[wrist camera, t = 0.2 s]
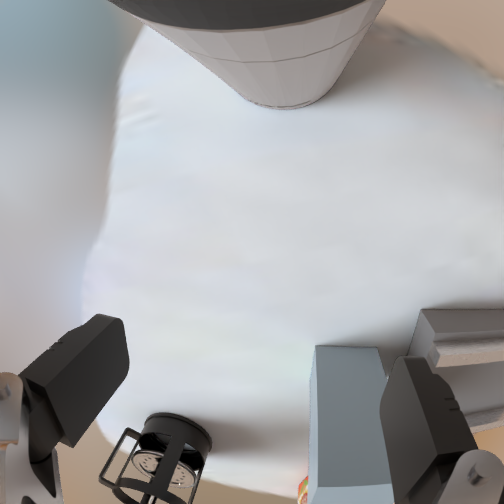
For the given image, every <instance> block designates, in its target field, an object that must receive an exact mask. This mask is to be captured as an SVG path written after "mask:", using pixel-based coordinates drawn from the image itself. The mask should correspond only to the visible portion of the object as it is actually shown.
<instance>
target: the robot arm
mask: <svg viewBox="0 0 504 504" xmlns="http://www.w3.org/2000/svg"><path fill="white" fill-rule="evenodd" d="M108 1H110V2H112V3H113V4H115V5H117V6H118V7H120V8H121V9H123V10H125V11H126V12H128V13H129V14H131V15H132V16H134V17H135V18H137V19H138V20H140V21H142V22H143V23H144V24H146V25H148V26H149V27H150V28H152V29H153V30H155V31H156V32H158V33H159V34H161V35H162V36H164V37H165V38H167V39H168V40H170V41H171V42H173V43H174V44H175V45H177V46H178V47H180V48H181V49H182V50H184V51H185V52H186V53H188V54H189V55H190V56H192V57H193V58H194V59H196V60H197V61H198V62H200V63H201V64H202V65H204V66H205V67H206V68H207V69H209V70H210V71H211V72H213V73H214V74H215V75H216V76H218V77H219V78H220V79H221V80H223V81H224V82H225V83H226V84H228V85H229V86H230V87H231V88H233V89H234V90H235V91H236V92H238V93H239V94H240V95H241V96H242V97H244V98H245V99H247V100H248V101H250V102H252V103H254V104H256V105H259V106H262V107H265V108H269V109H278V110H287V109H296V108H300V107H304V106H307V105H309V104H311V103H313V102H315V101H317V100H319V99H320V98H321V97H322V96H324V95H325V94H326V93H327V92H328V91H329V90H330V89H331V88H332V86H333V85H334V84H335V82H336V81H337V79H338V77H339V76H340V74H341V73H342V71H343V70H344V68H345V67H346V65H347V63H348V62H349V60H350V58H351V57H352V55H353V53H354V52H355V50H356V49H357V47H358V45H359V44H360V42H361V41H362V39H363V37H364V36H365V34H366V32H367V31H368V29H369V28H370V26H371V24H372V23H373V21H374V20H375V18H376V16H377V15H378V13H379V12H380V10H381V8H382V7H383V5H384V4H385V1H386V0H108ZM128 370H129V355H128V349H127V343H126V336H125V330H124V324H123V322H122V320H121V319H120V318H115V317H111V316H107V315H103V314H96V315H95V316H94V317H92V318H91V319H90V320H89V321H88V322H87V323H85V324H84V325H82V326H80V327H77V328H75V329H73V330H71V331H68V332H67V333H66V334H65V335H64V336H62V337H61V338H60V339H59V340H58V342H55V343H54V344H53V345H52V346H51V347H50V349H49V350H46V351H45V352H44V353H43V354H41V355H40V356H39V357H38V358H37V359H36V360H35V361H33V362H32V363H31V364H30V365H29V366H28V367H27V368H26V369H24V370H23V371H22V372H21V373H20V374H19V375H18V376H17V375H15V374H13V373H9V372H2V373H0V504H64V501H63V495H62V489H61V482H60V474H59V466H58V456H57V451H56V449H55V446H56V445H57V443H58V442H61V443H63V444H65V445H67V446H69V447H71V448H74V446H75V445H76V444H77V442H78V441H79V440H80V438H81V437H82V435H83V434H84V433H85V431H86V430H87V429H88V427H89V426H90V425H91V423H92V422H93V421H94V419H95V418H96V417H97V415H98V414H99V413H100V411H101V410H102V408H103V407H104V406H105V404H106V403H107V402H108V400H109V399H110V398H111V397H112V395H113V394H114V393H115V391H116V390H117V389H118V387H119V386H120V385H121V383H122V382H123V381H124V379H125V378H126V376H127V374H128ZM379 413H380V420H381V425H382V430H383V435H384V441H385V446H386V451H387V457H388V463H389V469H390V475H391V482H392V488H393V495H394V503H395V504H504V465H503V464H502V462H501V460H500V459H499V458H498V457H497V456H496V455H494V454H493V453H490V452H488V451H485V450H479V449H478V447H477V444H476V442H475V440H474V437H473V435H472V433H471V430H470V428H469V426H468V423H467V421H466V419H465V417H464V415H463V412H462V411H460V406H459V404H458V402H457V400H455V396H454V394H453V391H452V389H451V387H450V385H449V384H448V383H447V382H446V381H445V380H444V379H443V378H442V377H441V376H439V375H438V374H433V373H432V371H431V369H430V367H429V365H428V363H427V361H426V359H425V358H424V357H416V356H399V357H398V358H397V359H396V361H395V363H394V366H393V369H392V371H391V374H390V377H389V379H388V382H387V385H386V387H385V390H384V392H383V395H382V398H381V402H380V410H379Z"/></svg>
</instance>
